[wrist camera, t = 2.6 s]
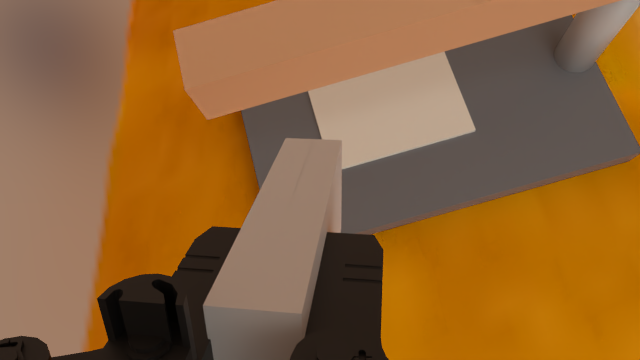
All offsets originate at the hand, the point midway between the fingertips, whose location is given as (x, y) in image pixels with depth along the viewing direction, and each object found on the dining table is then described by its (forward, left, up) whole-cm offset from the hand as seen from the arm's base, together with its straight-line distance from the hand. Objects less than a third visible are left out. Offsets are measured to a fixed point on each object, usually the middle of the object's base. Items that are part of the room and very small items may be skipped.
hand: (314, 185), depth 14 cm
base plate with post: (-7, -9, -17) cm, 21 cm away
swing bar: (-7, -9, -8) cm, 14 cm away
